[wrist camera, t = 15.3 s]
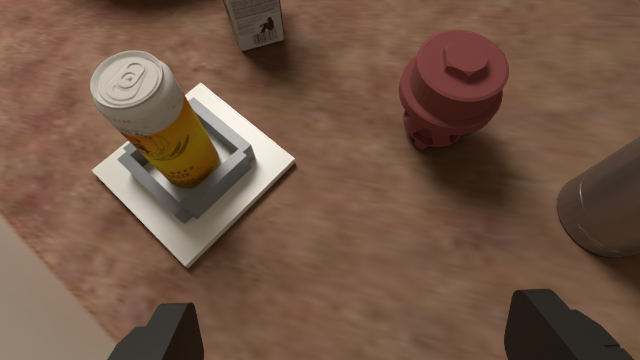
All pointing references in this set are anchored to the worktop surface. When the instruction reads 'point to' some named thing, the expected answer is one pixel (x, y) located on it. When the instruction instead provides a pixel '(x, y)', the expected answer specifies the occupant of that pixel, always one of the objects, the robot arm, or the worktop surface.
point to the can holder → (212, 194)
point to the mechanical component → (452, 87)
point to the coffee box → (255, 22)
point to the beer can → (154, 116)
